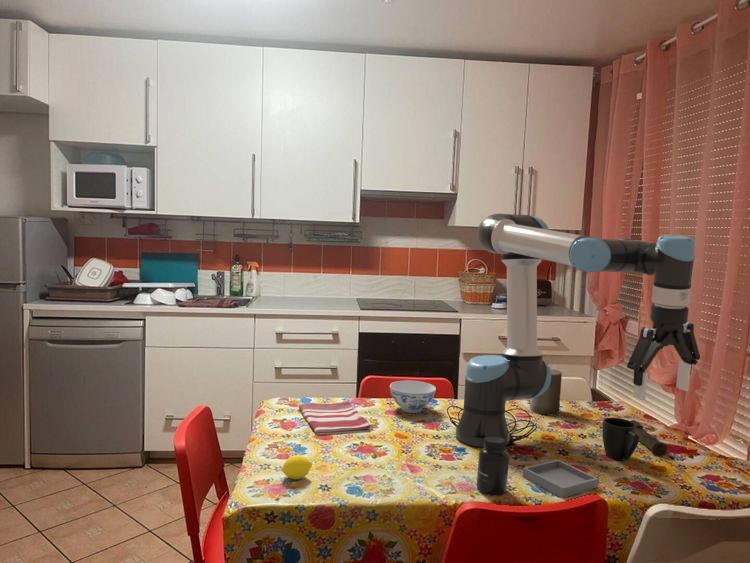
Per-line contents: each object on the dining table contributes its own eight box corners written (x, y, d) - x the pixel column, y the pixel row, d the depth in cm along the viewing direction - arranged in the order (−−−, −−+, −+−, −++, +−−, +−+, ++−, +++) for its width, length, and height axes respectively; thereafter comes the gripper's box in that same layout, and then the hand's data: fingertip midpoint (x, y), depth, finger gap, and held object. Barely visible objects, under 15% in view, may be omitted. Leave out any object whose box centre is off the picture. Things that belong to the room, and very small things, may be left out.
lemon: (284, 486, 129) (282, 463, 128) (281, 476, 134) (279, 454, 133) (315, 480, 131) (313, 457, 130) (311, 470, 136) (308, 448, 135)
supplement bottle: (473, 492, 129) (476, 440, 128) (479, 480, 135) (482, 431, 134) (504, 499, 127) (507, 446, 126) (508, 486, 133) (512, 436, 132)
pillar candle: (565, 414, 190) (568, 370, 189) (540, 416, 187) (543, 371, 186) (547, 405, 199) (550, 363, 198) (523, 407, 196) (526, 364, 195)
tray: (522, 476, 139) (523, 467, 139) (557, 468, 145) (557, 459, 145) (561, 497, 128) (562, 488, 128) (597, 487, 135) (598, 478, 135)
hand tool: (667, 457, 157) (668, 441, 156) (652, 456, 157) (654, 440, 156) (638, 433, 176) (639, 418, 175) (625, 432, 176) (626, 418, 175)
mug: (618, 468, 147) (621, 432, 146) (594, 450, 159) (597, 417, 158) (648, 468, 148) (651, 432, 147) (622, 450, 160) (625, 417, 159)
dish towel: (349, 407, 187) (349, 400, 187) (372, 432, 165) (372, 424, 165) (298, 410, 182) (298, 402, 182) (315, 437, 160) (315, 427, 160)
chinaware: (391, 401, 195) (392, 379, 195) (435, 405, 193) (436, 382, 193) (386, 414, 181) (387, 390, 180) (433, 419, 179) (435, 395, 178)
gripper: (642, 314, 120) (633, 408, 125) (724, 303, 130) (713, 391, 134) (614, 306, 127) (607, 395, 131) (694, 296, 137) (685, 380, 141)
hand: (661, 393), depth 133 cm, fingers open, 13 cm apart
